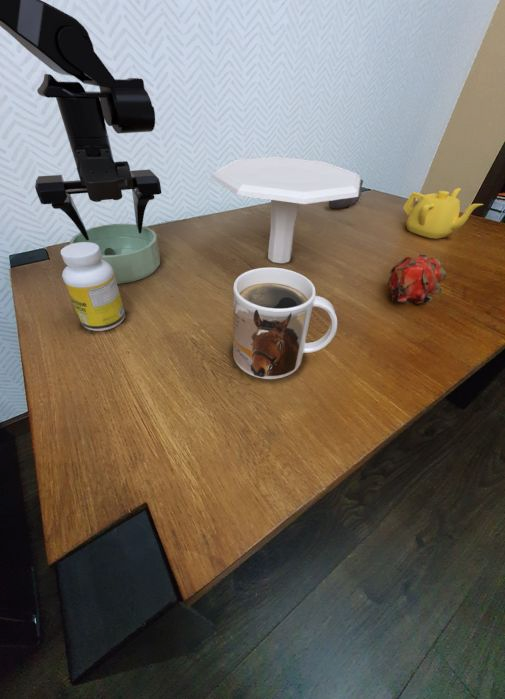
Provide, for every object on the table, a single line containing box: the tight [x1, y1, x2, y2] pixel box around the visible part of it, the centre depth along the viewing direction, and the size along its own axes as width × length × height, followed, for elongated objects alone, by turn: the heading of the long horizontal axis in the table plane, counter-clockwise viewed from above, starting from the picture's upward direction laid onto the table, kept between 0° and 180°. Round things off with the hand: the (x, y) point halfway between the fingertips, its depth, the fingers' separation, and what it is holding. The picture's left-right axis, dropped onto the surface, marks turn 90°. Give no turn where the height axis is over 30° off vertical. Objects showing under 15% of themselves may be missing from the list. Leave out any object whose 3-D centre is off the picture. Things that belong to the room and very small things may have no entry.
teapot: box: [402, 187, 484, 239], centre depth 79 cm, size 14×13×10 cm
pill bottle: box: [60, 242, 126, 332], centre depth 44 cm, size 6×6×12 cm
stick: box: [104, 248, 116, 255], centre depth 60 cm, size 2×8×2 cm
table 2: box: [210, 156, 362, 264], centre depth 61 cm, size 28×28×17 cm
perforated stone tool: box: [328, 178, 364, 210], centre depth 93 cm, size 15×5×7 cm, turn 132°
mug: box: [232, 266, 338, 380], centre depth 40 cm, size 10×12×11 cm
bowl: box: [69, 223, 162, 285], centre depth 60 cm, size 15×15×6 cm
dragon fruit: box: [387, 253, 447, 304], centre depth 54 cm, size 8×8×12 cm
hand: (114, 236), depth 57 cm, fingers open, 9 cm apart
